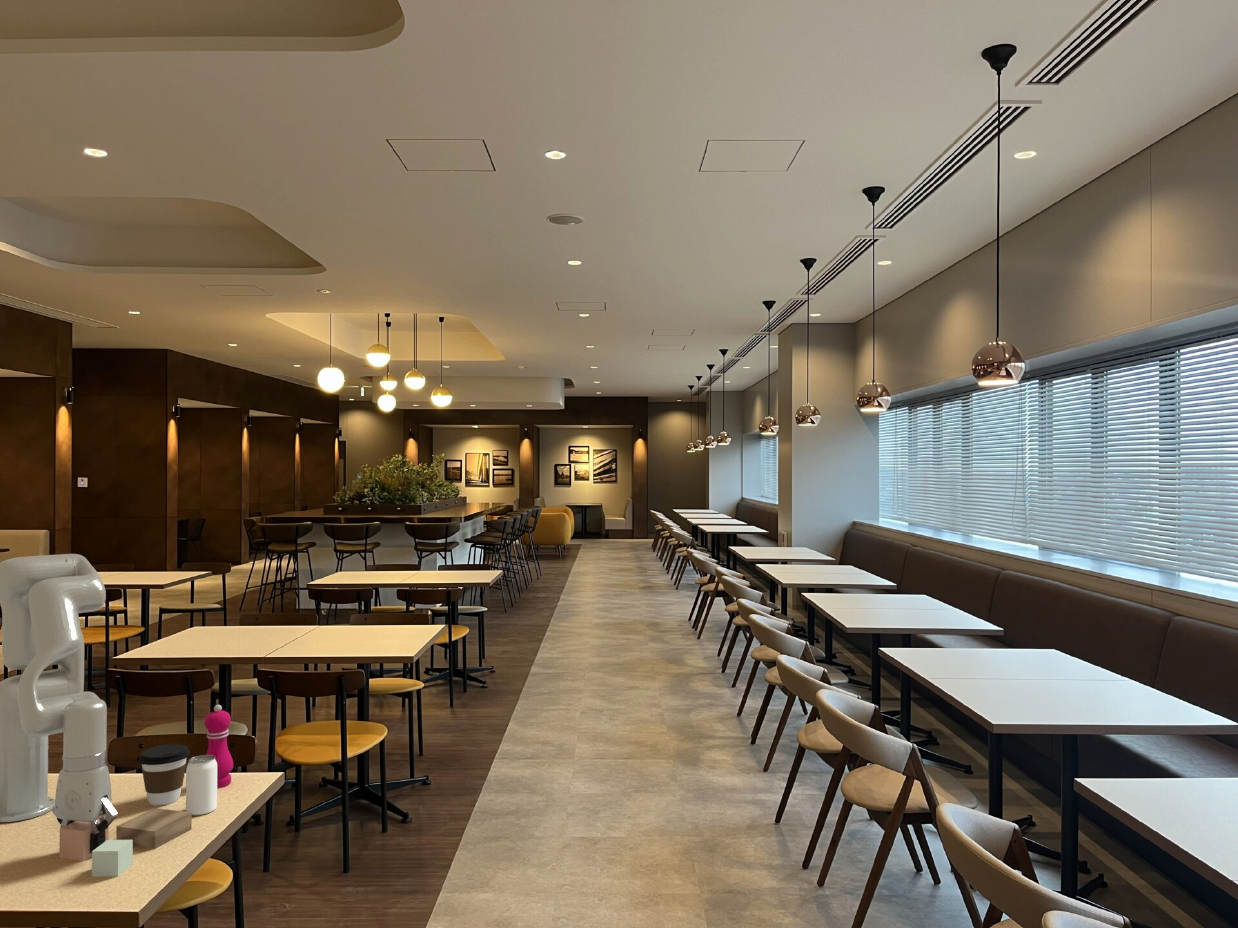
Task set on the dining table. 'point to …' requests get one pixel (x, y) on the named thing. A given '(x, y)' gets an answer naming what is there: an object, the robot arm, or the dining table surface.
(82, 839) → the clay cube
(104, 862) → the sage cube
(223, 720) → the pepper mill
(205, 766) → the can
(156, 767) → the coffee cup
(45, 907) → the dining table surface
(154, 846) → the walnut block
